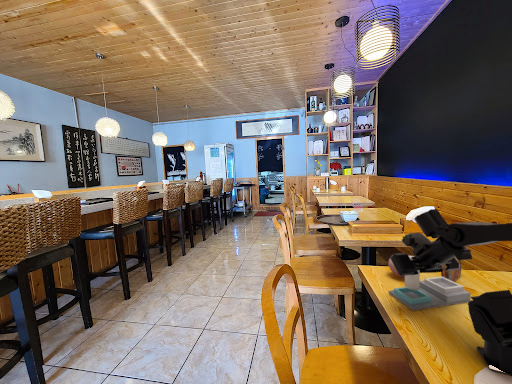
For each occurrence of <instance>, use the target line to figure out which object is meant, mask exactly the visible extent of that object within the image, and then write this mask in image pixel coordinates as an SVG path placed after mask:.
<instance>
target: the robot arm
mask: <svg viewBox="0 0 512 384" xmlns="http://www.w3.org/2000/svg"><path fill="white" fill-rule="evenodd" d="M414 221H415V223H416V224H417V226H418V227H419V228H420V230H421V231H422V233H421V232H410V233H408V234H405V235H403V236H402V239H401V241H402V244H404V245H405V246H406V247H410V248H411V249H412V251H411V252H412V254H413V256H415V257H411V258H412V260H411V259H410V258H409V256H410V255H408V254H407V253H405V252H399V253H398V252H397V253H393V254H392V255H391V256H390V257H389V259H391V261H392V262H393V264H394V266H395V268H396V270H397V272H398V274H399V275H401V276H404V275H417V274H419V273H418V271H419V270H420V274H423V273H424V274H425V273H426V274H431V273H433V274H435V273H441V272H443V269H442V264H445V265H446V266H447V268H445V269H446V270H447V271H454V270H456V269H458V268H459V263H458V262H457V260H456V259H455V258H454V257H456V258H457V259H458V260H461V261H467V260H468V261H470V260H472V259H473V256H472V251H471V249H470V248H469V249H468V248H467V247H470V246H471V247H472V246H481V245H489V244H493V243H498V242H512V222H507V223H492V222H487V221H483V222H482V221H467V222H453V223H447V221H446V220H445V218H444V217H443V216H442V214H441V212H440V211H439V210H438V209H436V208H433V209H429V210H428V211H425V212H423V213H421V214H418V215H416V216H415V217H414ZM428 237H430V238H432V239H434V240H433V241H431V240H430V239H429V238H428ZM419 264H420V265H419ZM467 305H468V307H467V308H468V313H469V316H470V320H471V323H472V326H473V329H474V333H476V334H477V335H479V336H480V337H481V338H482V340H483V347H482V346H479V345H478V346H476V350H477V352H478V353H479V355H480V356H481V358H482V360H483V359H484V360H483V361H484V363H485V364H486V366H487V367H488V366H489V365H492V366H494V367H496V368H498V369H499V370H501V371H503V372H505V373H507V374H506V375H508V374H509V376H512V292H511V290H510V289H504V290H494V291H486V292H483V293H481V294H480V295H475V296H474V295H473V296H470V301H469V302H467ZM505 373H504V374H505Z"/></svg>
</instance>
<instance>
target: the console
mask: <svg viewBox="0 0 512 384" xmlns="http://www.w3.org/2000/svg"><path fill="white" fill-rule="evenodd" d="M388 294H389V295H390V296H391V297H393V298H394V299H395V300H398V302H400V303H402V304H403V305H404V306H405V307H406V308H408V309H410V310H411V311H413V312H414V311H415V312H416V311H420V310H427V309H434V308H439V307H445V306H451V305H452V306H453V305H458V304H459V305H460V304H464V303H469V301H471V292H469V291H468V290H465V286H464V285H462V284H460V283H457V282H453V281H451V280H449V279H446V278H444V277H442V276H436V277H428V278H424V280H420V289H419V290H411V289H408V288H406V287H405V286H403V287H396V288H393V289H392V290H388Z"/></svg>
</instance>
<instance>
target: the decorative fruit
mask: <svg viewBox="0 0 512 384" xmlns="http://www.w3.org/2000/svg"><path fill="white" fill-rule="evenodd" d="M387 263H388V267H389V269H390V271H391V272H392V273H393V274H395V275H396V276H397V277H400V278H405V275H404V276H401V275H399V274H398V272H397V270H396V268H395V266H394V264H393V262H392V261H391V259H390V258H389V259H388V262H387Z"/></svg>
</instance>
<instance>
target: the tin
mask: <svg viewBox="0 0 512 384" xmlns="http://www.w3.org/2000/svg"><path fill="white" fill-rule="evenodd" d="M454 258H455V259H456V260H457V262H458V263H459V268H458V269H456V270H454V271H447V270H446V269H445V268H447V266H446V265H445V264H442V269H443V272H440V275H441V276H442V277H444V278H446V279H449V280H451V281H453V282H455V283H457V281H458V280H459V278H460V277H461V274H462V262H461V261H462V260H458V259H457V258H456V257H454ZM441 276H440V277H441Z"/></svg>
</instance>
